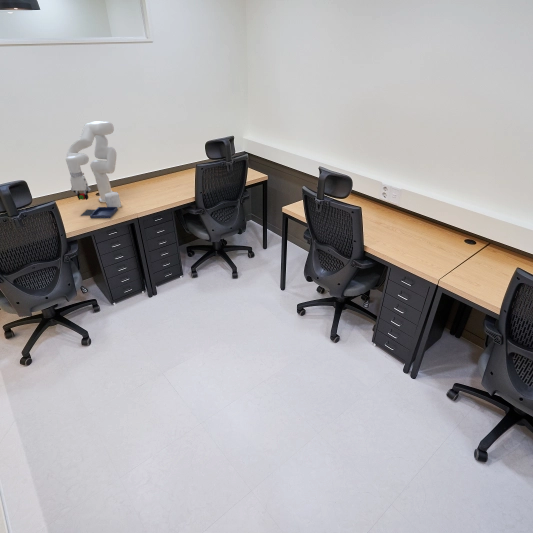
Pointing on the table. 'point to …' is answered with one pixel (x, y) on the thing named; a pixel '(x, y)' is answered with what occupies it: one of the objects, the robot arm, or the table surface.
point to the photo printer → (113, 199)
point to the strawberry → (82, 196)
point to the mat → (87, 212)
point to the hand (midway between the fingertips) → (83, 198)
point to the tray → (104, 212)
